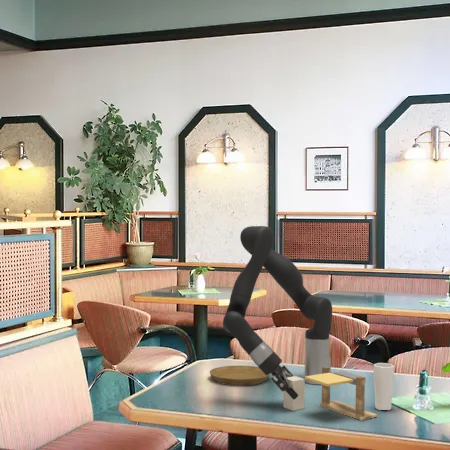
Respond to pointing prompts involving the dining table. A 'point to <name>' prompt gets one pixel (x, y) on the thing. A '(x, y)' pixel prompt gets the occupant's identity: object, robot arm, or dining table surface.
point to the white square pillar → (299, 388)
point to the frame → (344, 408)
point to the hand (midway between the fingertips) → (298, 394)
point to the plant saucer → (238, 375)
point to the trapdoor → (333, 378)
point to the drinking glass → (383, 385)
